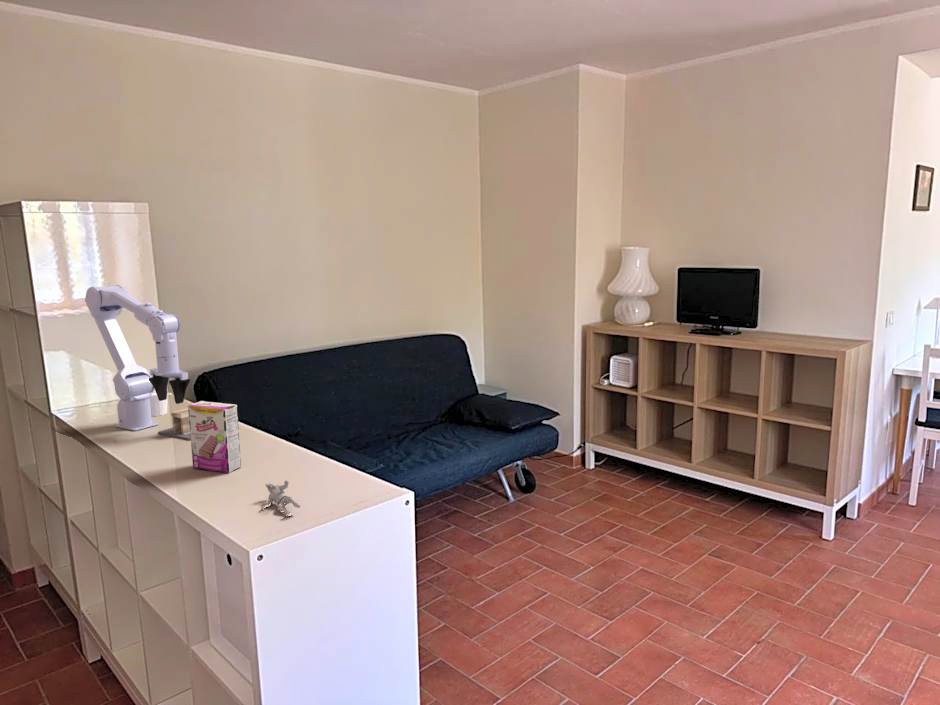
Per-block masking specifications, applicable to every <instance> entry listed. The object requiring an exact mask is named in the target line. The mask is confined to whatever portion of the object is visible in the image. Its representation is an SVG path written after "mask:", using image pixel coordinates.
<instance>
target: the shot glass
mask: <svg viewBox="0 0 940 705" xmlns="http://www.w3.org/2000/svg"><path fill="white" fill-rule="evenodd" d="M167 397H168V392H167ZM150 407H151V417H152V416H156V417H160V416H159V415H163V416H165V415H164V414H166V413H167V414H168V398H167V399H166V400H162V401H159V399H158V396H157V394H156V391H153V393H152V396H150ZM167 414H166V415H167Z"/></svg>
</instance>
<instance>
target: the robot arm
mask: <svg viewBox="0 0 940 705" xmlns="http://www.w3.org/2000/svg"><path fill="white" fill-rule="evenodd" d="M84 303H85V304H86V307H87V308H88V311H89V313H90V315H91V317H92V318H93V319H94V322H95V323H96V326H97V329H98V331H99V333H100V335H101V337H102V339H103V341H104V343H105V346H106V348H107V350H108V352H109V355H110V356H111V358H112V360H113V362H114V365H115V367H116V370H117V371H116V374H115V375H114V376H113V378H112V381H113V384H114V390H115V394H116V396H117V397H118V398H119V400H118V402H117V407H116V408H117V409H116V410H117V418H118V424H116V428H120V429H125V430H129V431H135V432H137V431H140V430H144V429H147V428H151V427H153V426H158V425H159V422H154V421H153V418H152V416H151V407H150V396H152V393H153V392H156V394H157V396H158V399H159V401H162V400H166V399H167V400H168V396H167V393H168V383H169V385H170V387H171V389H172V393H173V397H174V402H175V404H177V405H179V404H182V403H184V401H185V395H186V391H187V388H188V386H189V384H190V382H191V379H190V378H189V374H188V372H187V371H184V370H181V369H180V364H179V363H180V362H179V353H178V352H179V350H178V341H177V340H178V339H177V338H178V337H177V334H178V332H179V331H180V329H181V322H180V319H179V317H178V316H177V315H176V314H175V313H173V312H172V313H165V312H164V311H163V310H162V309H159V308H157V307H155V306H154V305H153V303H152V302H140V301H139V300H138V299H136V298H135V297H133V296H132V295H131V294H130V293H128V289H127V288H125V287H123V286H122V285H120V284H117V285H108V286H90V287H89V288H87V289H86V292H85V298H84ZM123 309H125V310H127V311H129V312H131V313H133V315H134V318H135V320H137V321H139V323H142V324H144V325H145V326H146V327H148V330H149V332H150V333H151V335H152V340H153V341H154V343H155V344H154V345H155V357H156V358H155V359H156V367H154V368H150V369H149V372H148V370H147V368H145V367H143V366H140V365H139V364H137V362H136V360H135V358H134V356H133V353H132V351H131V349H130V346H129V345H128V343H127V341H126V338H125V337H124V334H123V332H122V329H121V327H120V325H119V323H118V321H117V316H120V315H121V313H122V310H123ZM169 379H171V380H169Z"/></svg>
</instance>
